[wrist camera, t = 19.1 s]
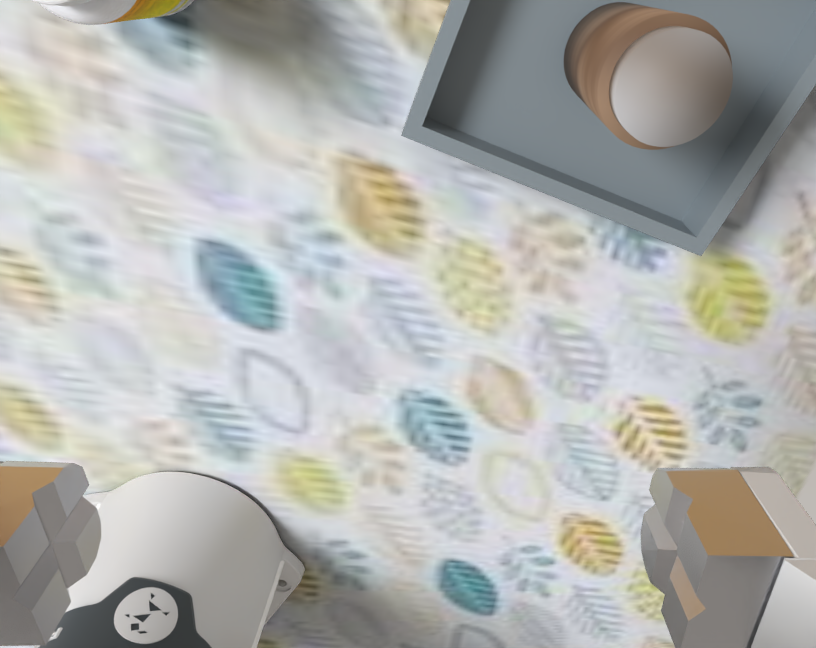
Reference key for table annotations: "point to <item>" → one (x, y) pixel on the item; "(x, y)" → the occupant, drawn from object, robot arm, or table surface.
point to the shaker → (649, 73)
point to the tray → (586, 134)
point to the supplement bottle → (111, 9)
